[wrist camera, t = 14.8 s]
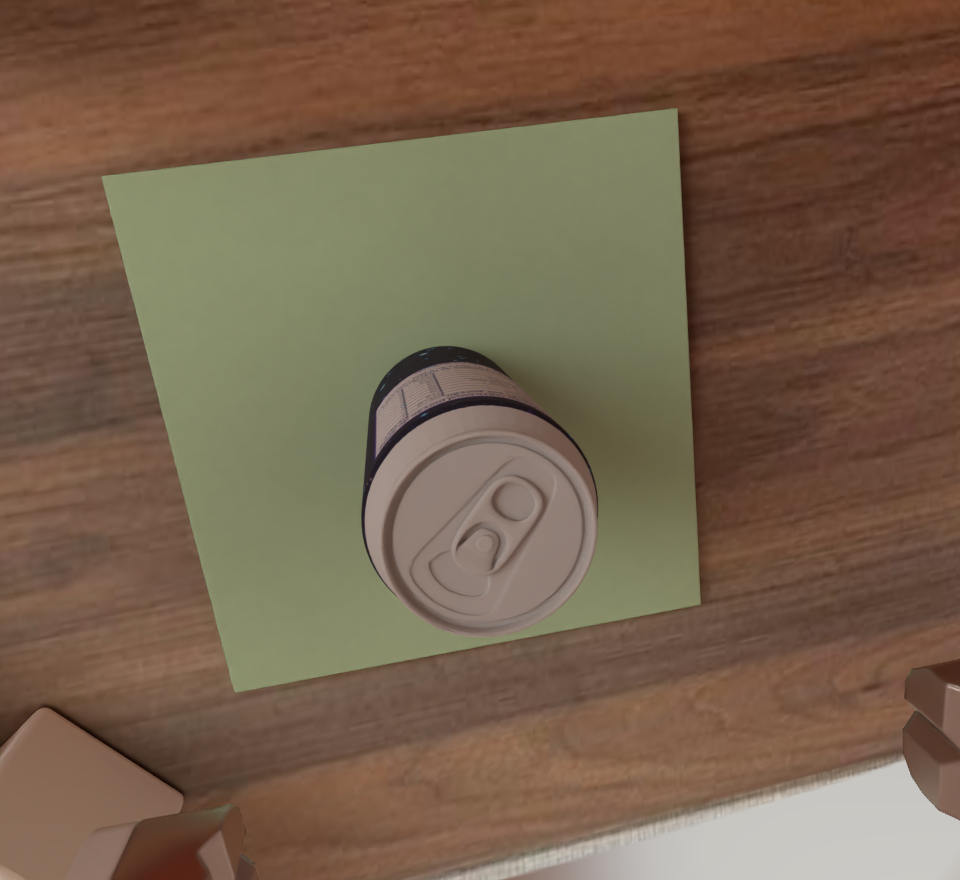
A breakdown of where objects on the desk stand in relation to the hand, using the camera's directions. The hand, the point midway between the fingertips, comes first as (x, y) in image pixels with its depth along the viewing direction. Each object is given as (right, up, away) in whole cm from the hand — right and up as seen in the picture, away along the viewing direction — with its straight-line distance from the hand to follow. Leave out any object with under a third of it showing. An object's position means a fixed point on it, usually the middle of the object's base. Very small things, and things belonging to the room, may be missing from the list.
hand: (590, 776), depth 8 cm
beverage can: (-3, +5, +19) cm, 20 cm away
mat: (-3, +5, +19) cm, 20 cm away
